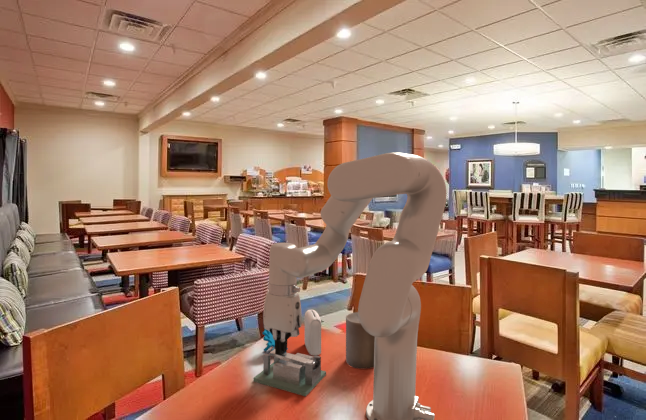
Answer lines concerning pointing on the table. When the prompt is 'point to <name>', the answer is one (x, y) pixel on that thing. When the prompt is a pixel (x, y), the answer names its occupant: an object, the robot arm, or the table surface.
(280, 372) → the grey block frame
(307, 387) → the board
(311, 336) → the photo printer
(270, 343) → the gear
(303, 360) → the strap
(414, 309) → the robot arm
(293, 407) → the table surface
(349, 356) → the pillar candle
